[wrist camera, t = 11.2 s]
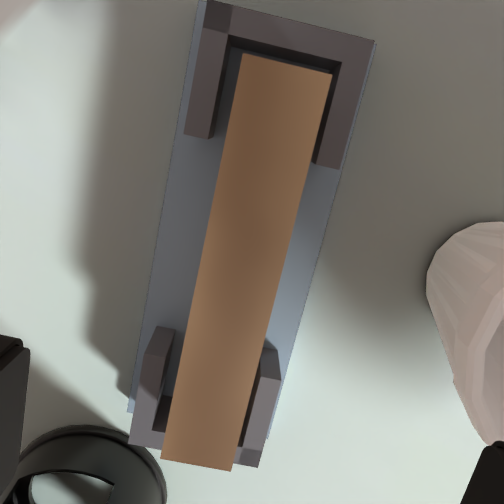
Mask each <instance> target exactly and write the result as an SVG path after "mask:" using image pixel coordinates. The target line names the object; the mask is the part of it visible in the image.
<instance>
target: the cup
mask: <svg viewBox="0 0 504 504" xmlns="http://www.w3.org/2000/svg"><path fill="white" fill-rule="evenodd" d="M426 296H427V299H428V302H429V305H430V308H431V311H432V314H433V317H434V319H435V322H436V325H437V328H438V331H439V334H440V337H441V340H442V342H443V345H444V348H445V351H446V354H447V357H448V360H449V363H450V365H451V368H452V371H453V375H454V379H453V383H454V385H455V387H456V390H457V392H458V394H459V396H460V398H461V401H462V403H463V405H464V407H465V410H466V412H467V414H468V416H469V419H470V421H471V423H472V425H473V426H474V428H475V429H476V431H477V432H478V434H479V435H480V437H481V438H482V440H483V441H484V442H485V443H486V444H487V445H489V446H491V445H492V444H493V443H494V442H495V441H504V222H485V223H476V224H474V225H472V226H470V227H468V228H466V229H464V230H461V231H459V232H457V233H455V234H453V235H452V236H451V237H450V238H449V239H448V240H447V241H446V242H445V243H444V244H443V245H442V246H441V247H440V248H439V249H438V250H437V251H436V253H435V255H434V258H433V260H432V262H431V264H430V266H429V269H428V271H427V281H426Z"/></svg>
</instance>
